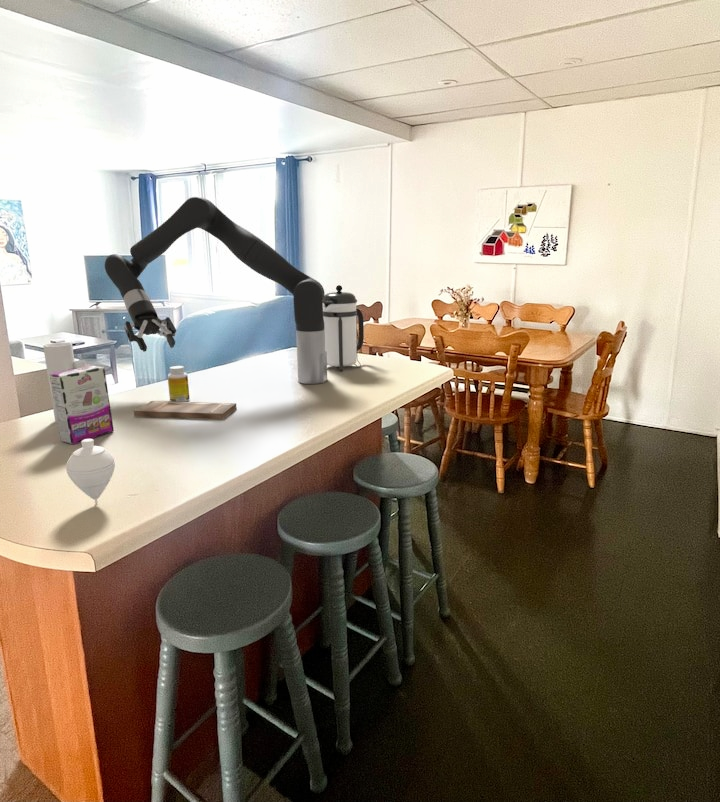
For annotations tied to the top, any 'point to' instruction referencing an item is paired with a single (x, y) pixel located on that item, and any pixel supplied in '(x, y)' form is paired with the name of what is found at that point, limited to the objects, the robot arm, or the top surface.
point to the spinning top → (91, 468)
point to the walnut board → (185, 410)
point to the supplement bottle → (178, 384)
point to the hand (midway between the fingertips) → (159, 348)
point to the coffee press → (342, 328)
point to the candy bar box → (81, 403)
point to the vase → (60, 362)
